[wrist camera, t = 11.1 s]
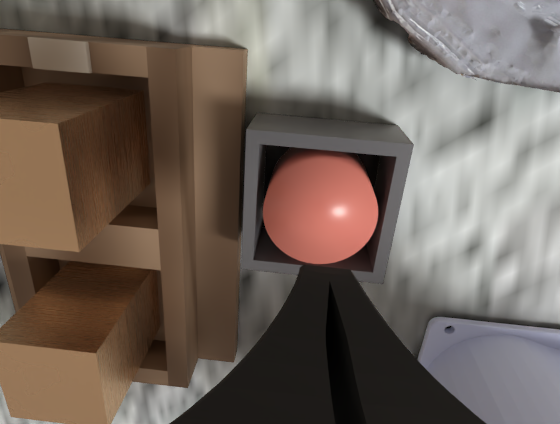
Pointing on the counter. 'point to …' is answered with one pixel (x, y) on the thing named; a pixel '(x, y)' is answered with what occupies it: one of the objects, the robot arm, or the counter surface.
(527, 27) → the food plate
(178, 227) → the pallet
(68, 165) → the block
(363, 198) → the button
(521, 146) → the counter surface
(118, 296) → the block
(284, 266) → the button housing
